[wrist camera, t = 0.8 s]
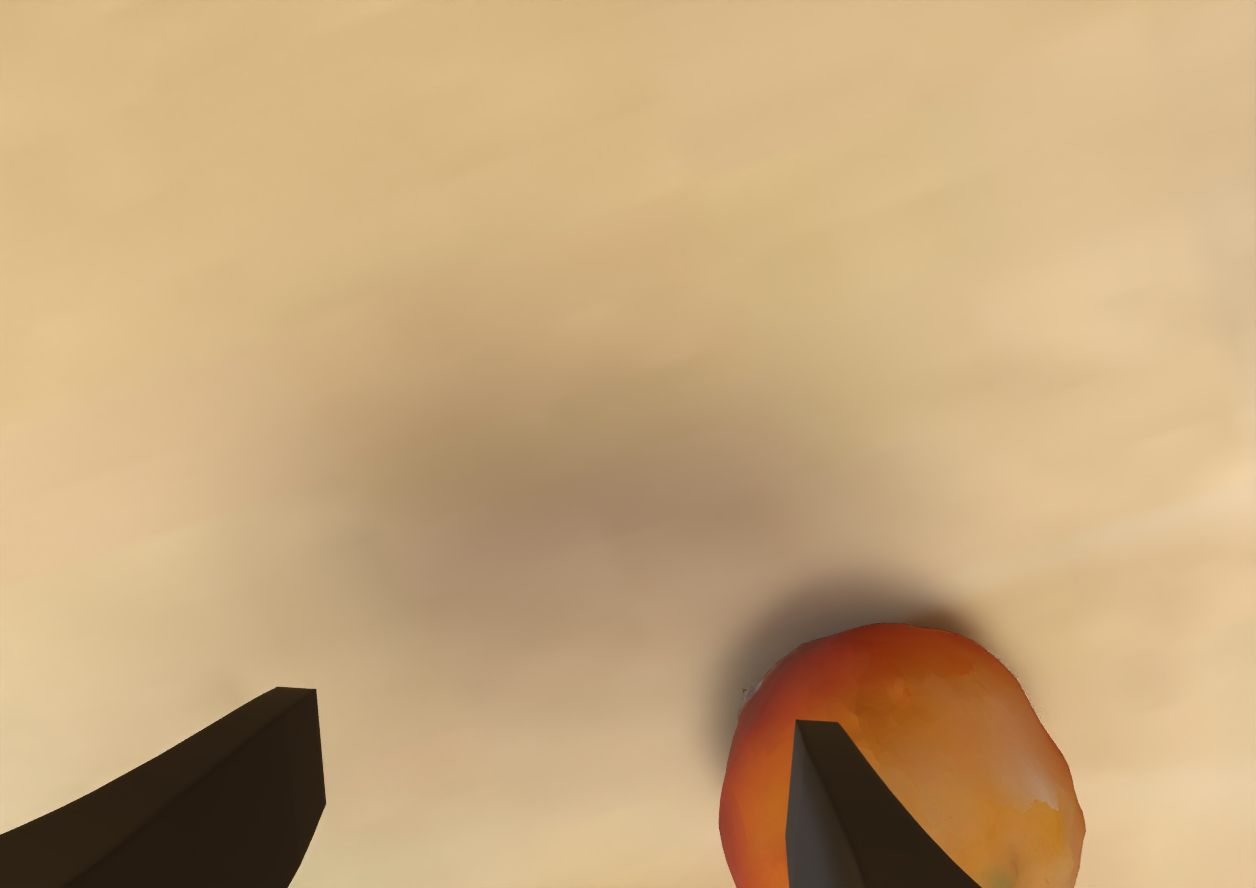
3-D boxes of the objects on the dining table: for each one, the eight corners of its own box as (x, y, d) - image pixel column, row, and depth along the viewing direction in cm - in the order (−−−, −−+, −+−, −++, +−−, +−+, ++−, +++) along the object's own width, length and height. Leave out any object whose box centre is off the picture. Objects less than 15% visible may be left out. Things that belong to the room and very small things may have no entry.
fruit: (604, 676, 22) (795, 837, 15) (846, 541, 25) (1104, 621, 18) (698, 929, 24) (907, 1178, 17) (912, 778, 27) (1169, 936, 20)
